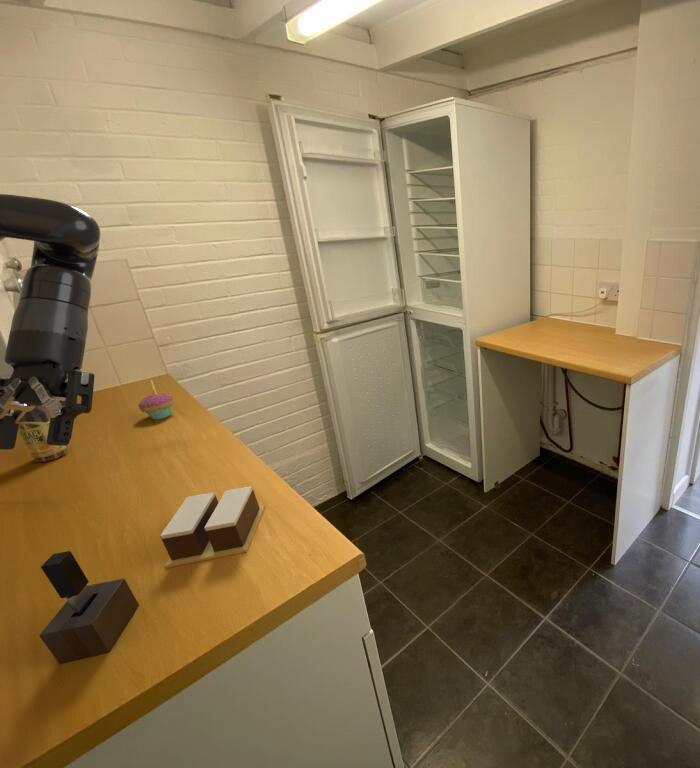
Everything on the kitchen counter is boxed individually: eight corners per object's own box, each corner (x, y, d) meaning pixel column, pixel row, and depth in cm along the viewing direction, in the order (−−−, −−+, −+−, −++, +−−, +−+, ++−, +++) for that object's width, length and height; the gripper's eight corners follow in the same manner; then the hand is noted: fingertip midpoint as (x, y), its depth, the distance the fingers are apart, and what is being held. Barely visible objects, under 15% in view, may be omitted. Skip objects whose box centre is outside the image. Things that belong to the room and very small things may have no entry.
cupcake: (151, 412, 132) (136, 377, 127) (182, 407, 134) (169, 373, 130) (139, 425, 124) (123, 388, 119) (173, 419, 127) (159, 383, 122)
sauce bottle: (28, 464, 106) (-14, 393, 98) (52, 450, 112) (14, 383, 104) (54, 463, 106) (15, 392, 99) (77, 449, 112) (41, 382, 104)
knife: (100, 625, 64) (54, 552, 58) (115, 622, 64) (71, 548, 58) (87, 643, 61) (38, 568, 55) (103, 640, 62) (56, 565, 56)
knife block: (95, 614, 66) (78, 587, 63) (139, 605, 67) (124, 578, 65) (59, 664, 59) (38, 635, 56) (109, 652, 60) (91, 624, 58)
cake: (196, 519, 85) (185, 494, 83) (265, 506, 88) (257, 482, 86) (165, 568, 74) (152, 540, 71) (246, 552, 77) (236, 525, 74)
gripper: (-29, 332, 58) (-54, 449, 55) (64, 322, 57) (44, 441, 54) (36, 347, 65) (17, 452, 62) (120, 339, 64) (105, 445, 61)
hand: (29, 447), depth 58 cm, fingers open, 8 cm apart
